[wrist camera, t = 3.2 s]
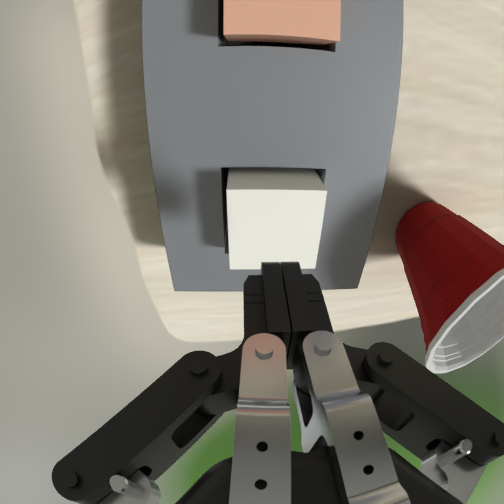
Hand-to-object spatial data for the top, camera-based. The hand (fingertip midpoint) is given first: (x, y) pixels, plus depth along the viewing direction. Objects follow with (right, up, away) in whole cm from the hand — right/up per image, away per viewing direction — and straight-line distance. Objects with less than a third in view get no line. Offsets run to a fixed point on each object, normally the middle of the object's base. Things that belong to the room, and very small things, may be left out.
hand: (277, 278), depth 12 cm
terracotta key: (0, +14, -1) cm, 14 cm away
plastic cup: (+14, +3, +11) cm, 19 cm away
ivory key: (0, +4, +6) cm, 8 cm away
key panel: (0, +11, +5) cm, 12 cm away
